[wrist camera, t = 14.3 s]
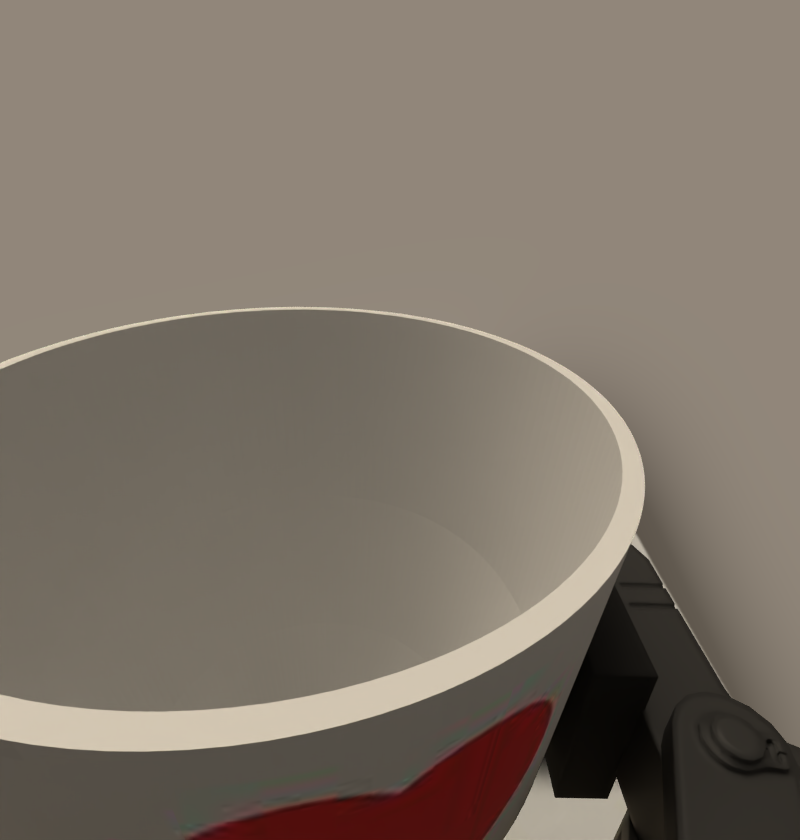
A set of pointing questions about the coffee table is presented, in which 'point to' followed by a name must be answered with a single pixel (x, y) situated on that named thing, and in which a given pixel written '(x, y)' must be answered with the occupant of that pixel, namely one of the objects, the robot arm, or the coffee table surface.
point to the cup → (296, 575)
